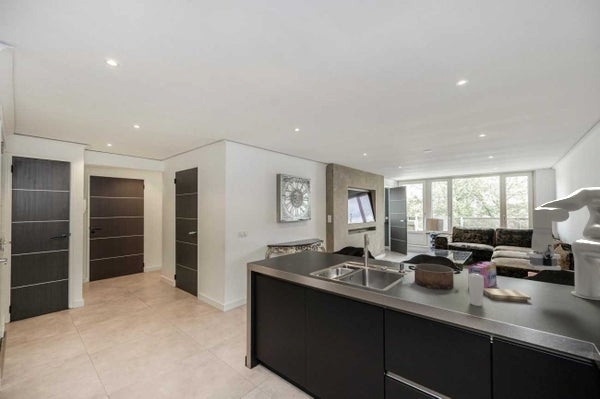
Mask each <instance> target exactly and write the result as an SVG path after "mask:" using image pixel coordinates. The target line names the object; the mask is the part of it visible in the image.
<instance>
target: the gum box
mask: <svg viewBox="0 0 600 399" xmlns="http://www.w3.org/2000/svg"><path fill="white" fill-rule="evenodd" d="M467 269H468V274H479V275H482V276H484V288H488V287H489V288H490V287H492V286H495V285H497V284H496V283H497V264H496V262H493V263H492V262H487V261H485V260H483V261H482V260H481V261H479V262H476V263H473V264H470V265H468V267H467ZM468 274H467V275H468ZM468 288H469V286H468Z"/></svg>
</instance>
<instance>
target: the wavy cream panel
mask: <svg viewBox="0 0 600 399" xmlns="http://www.w3.org/2000/svg"><path fill="white" fill-rule="evenodd" d="M483 293H484V295H486V296H487V297H489V298H490V299H491V300H494V301H495V300H496V301H506V300H508V301H507V302H520V301H521V302H522V303H527V302H528V301H531V300H532V298H531V296H529V295H527V294H525V293H524V292H523V291H520V290H518V289H505V288H502V289H501V288H490V287H489V288H484V289H483Z"/></svg>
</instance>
